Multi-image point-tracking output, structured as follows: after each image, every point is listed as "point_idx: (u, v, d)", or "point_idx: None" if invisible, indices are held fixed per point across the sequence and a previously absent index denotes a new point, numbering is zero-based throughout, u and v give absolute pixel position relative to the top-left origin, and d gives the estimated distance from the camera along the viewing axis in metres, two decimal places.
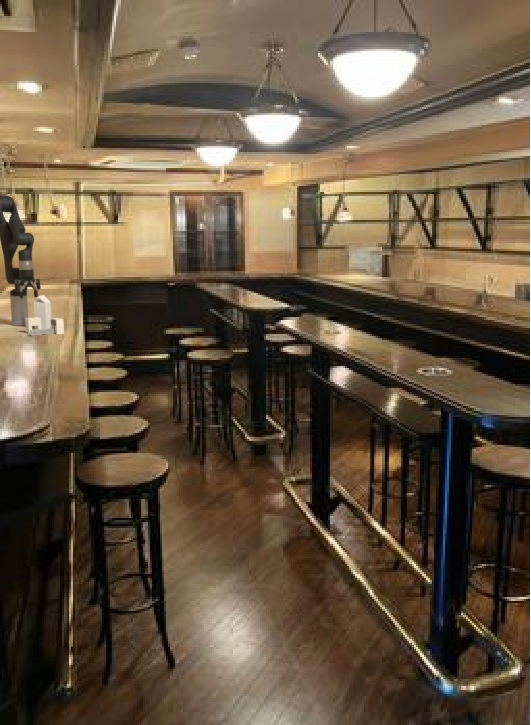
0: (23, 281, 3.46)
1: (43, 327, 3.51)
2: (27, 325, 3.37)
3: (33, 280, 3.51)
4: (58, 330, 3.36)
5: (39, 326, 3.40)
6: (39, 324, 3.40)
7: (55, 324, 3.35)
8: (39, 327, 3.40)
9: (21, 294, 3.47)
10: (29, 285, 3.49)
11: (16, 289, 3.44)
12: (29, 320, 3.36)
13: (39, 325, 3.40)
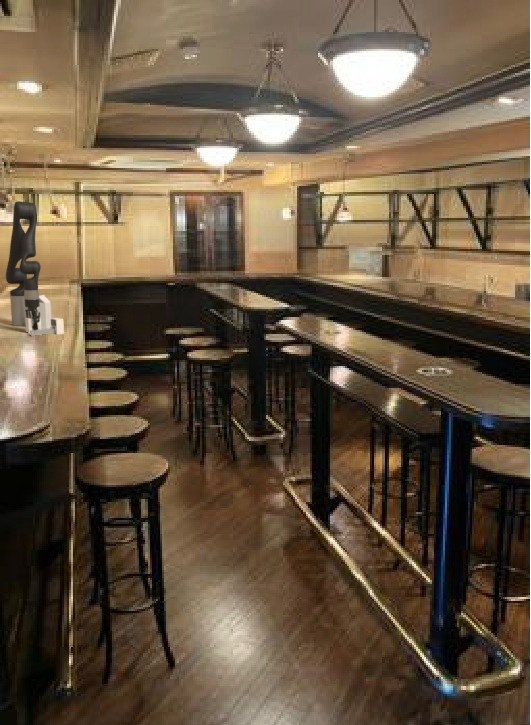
0: None
1: (43, 327, 3.51)
2: (27, 325, 3.37)
3: None
4: (58, 330, 3.36)
5: (39, 326, 3.40)
6: (39, 324, 3.40)
7: (55, 324, 3.35)
8: (39, 327, 3.40)
9: (37, 325, 3.39)
10: None
11: (38, 321, 3.36)
12: (29, 320, 3.36)
13: (39, 325, 3.40)
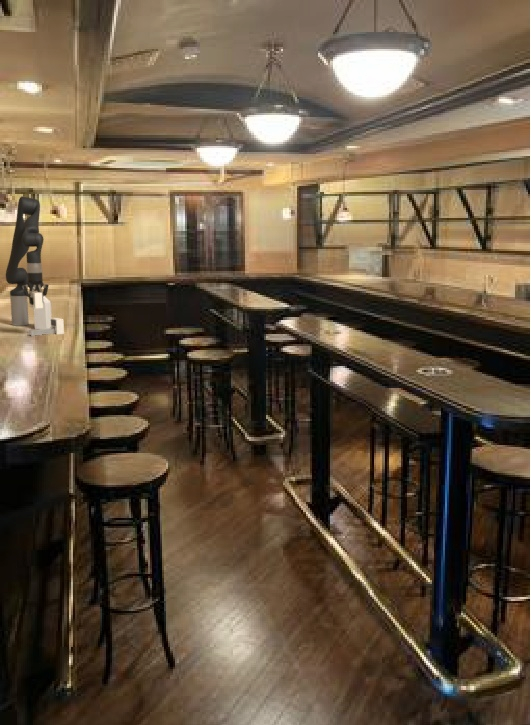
0: (30, 286, 3.24)
1: (43, 327, 3.51)
2: None
3: (41, 284, 3.28)
4: (58, 330, 3.36)
5: (34, 301, 3.25)
6: (34, 299, 3.25)
7: (55, 324, 3.35)
8: (34, 302, 3.25)
9: (31, 300, 3.26)
10: (36, 288, 3.26)
11: (26, 295, 3.24)
12: None
13: (34, 300, 3.25)
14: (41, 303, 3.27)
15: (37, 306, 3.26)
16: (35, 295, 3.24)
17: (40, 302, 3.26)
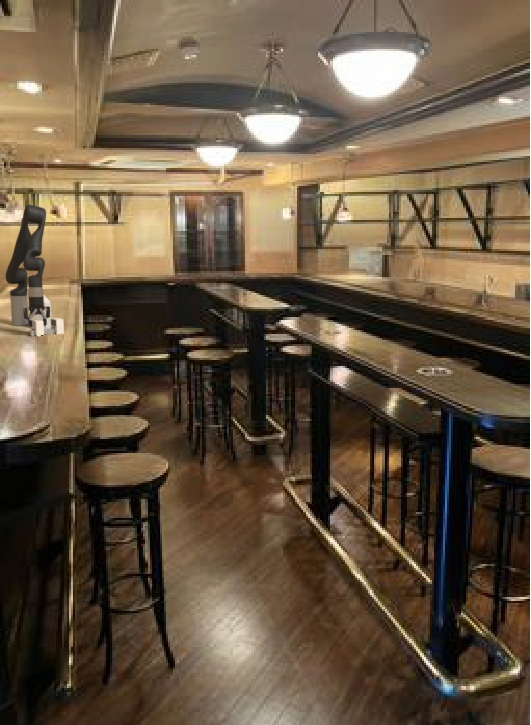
0: (32, 309, 3.27)
1: None
2: None
3: (43, 307, 3.31)
4: (58, 330, 3.36)
5: (35, 330, 3.28)
6: (35, 328, 3.28)
7: (55, 324, 3.35)
8: (35, 331, 3.29)
9: (30, 323, 3.27)
10: (38, 312, 3.29)
11: (25, 318, 3.25)
12: None
13: (35, 329, 3.28)
14: (42, 331, 3.30)
15: (38, 334, 3.29)
16: (36, 323, 3.27)
17: (41, 330, 3.30)
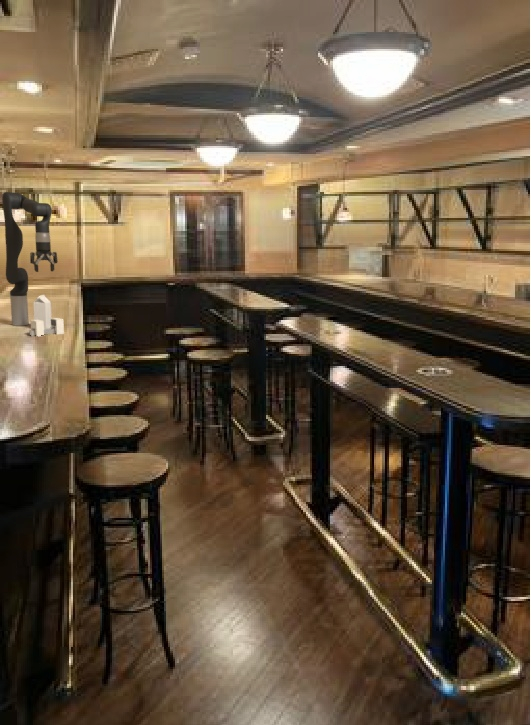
0: (39, 254, 3.32)
1: None
2: None
3: (50, 253, 3.36)
4: (58, 330, 3.36)
5: (35, 330, 3.28)
6: (35, 328, 3.28)
7: (55, 324, 3.35)
8: (35, 331, 3.29)
9: (36, 267, 3.33)
10: (45, 258, 3.35)
11: (31, 262, 3.31)
12: (31, 321, 3.31)
13: (35, 329, 3.28)
14: (42, 331, 3.30)
15: (39, 334, 3.29)
16: (37, 323, 3.27)
17: (41, 330, 3.30)
